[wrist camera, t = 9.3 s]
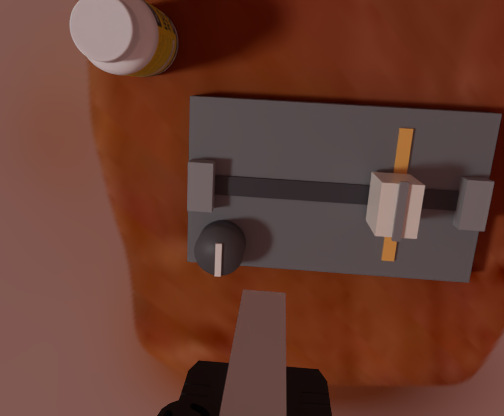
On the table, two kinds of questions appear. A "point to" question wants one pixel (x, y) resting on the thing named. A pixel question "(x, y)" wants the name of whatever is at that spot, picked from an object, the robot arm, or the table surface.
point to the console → (333, 186)
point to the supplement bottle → (124, 36)
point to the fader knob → (394, 205)
